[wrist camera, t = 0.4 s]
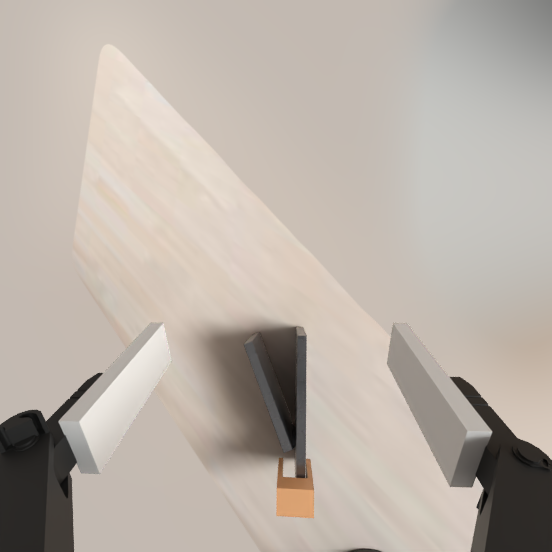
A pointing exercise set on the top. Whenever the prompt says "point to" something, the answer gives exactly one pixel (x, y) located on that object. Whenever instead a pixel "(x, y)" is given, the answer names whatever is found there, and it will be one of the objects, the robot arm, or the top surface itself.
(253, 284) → the top surface
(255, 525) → the top surface
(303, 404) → the arm
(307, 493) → the orange slotted clip
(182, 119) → the top surface
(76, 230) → the top surface
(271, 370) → the tongs hinged arm
